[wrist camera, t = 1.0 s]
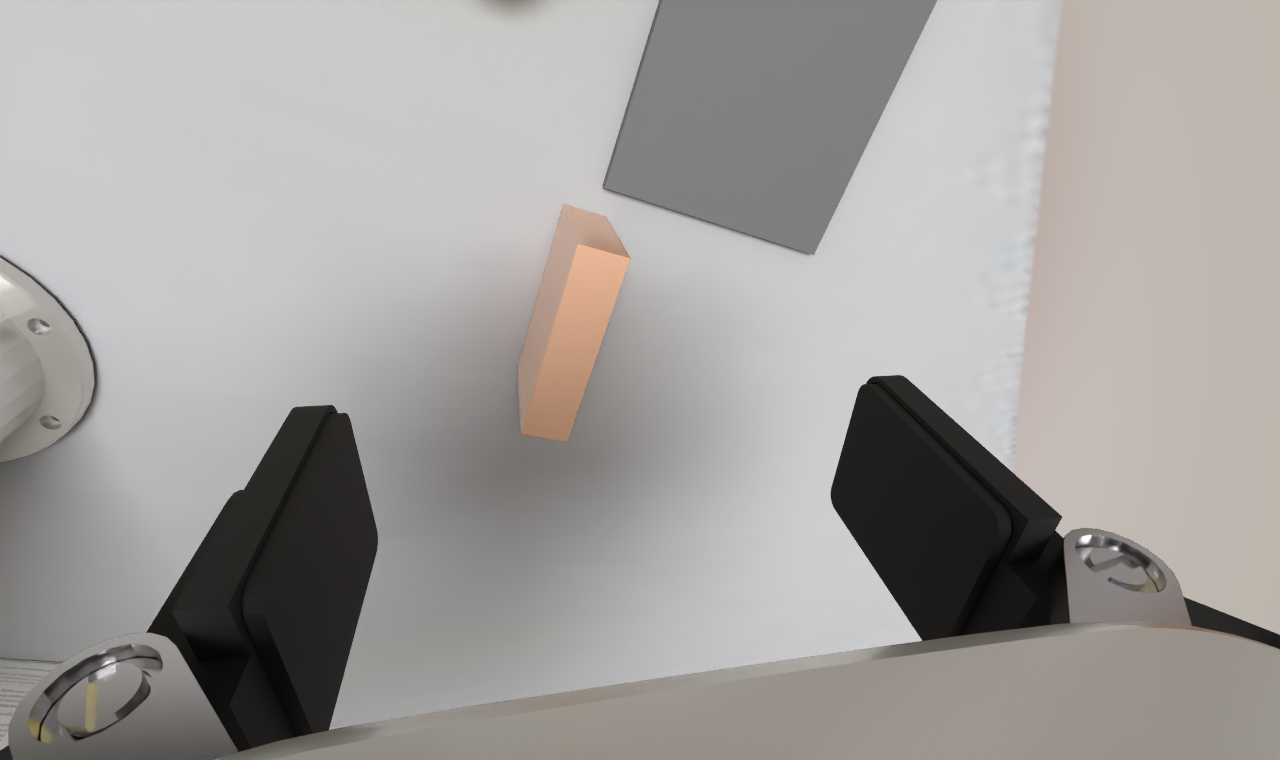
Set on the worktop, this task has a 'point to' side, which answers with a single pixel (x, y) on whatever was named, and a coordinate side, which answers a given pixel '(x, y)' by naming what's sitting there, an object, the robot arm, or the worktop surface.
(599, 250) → the block
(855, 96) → the mat
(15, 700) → the skincare box
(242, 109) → the worktop surface
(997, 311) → the worktop surface
